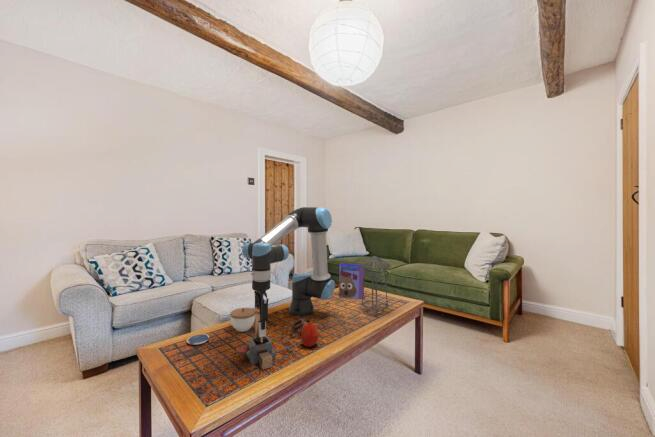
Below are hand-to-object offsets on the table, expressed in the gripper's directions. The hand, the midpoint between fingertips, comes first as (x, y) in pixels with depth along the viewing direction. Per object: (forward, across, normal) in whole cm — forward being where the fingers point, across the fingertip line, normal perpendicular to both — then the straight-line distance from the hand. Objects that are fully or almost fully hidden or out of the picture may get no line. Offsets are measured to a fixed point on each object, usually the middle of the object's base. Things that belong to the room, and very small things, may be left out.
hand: (260, 333), depth 118 cm
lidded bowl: (+10, -31, -1) cm, 33 cm away
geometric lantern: (+10, -20, +76) cm, 79 cm away
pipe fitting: (+3, 0, 0) cm, 3 cm away
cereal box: (+10, -50, +79) cm, 94 cm away
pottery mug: (+10, -12, +25) cm, 29 cm away
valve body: (+10, 0, -2) cm, 10 cm away
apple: (+10, 0, +23) cm, 25 cm away
